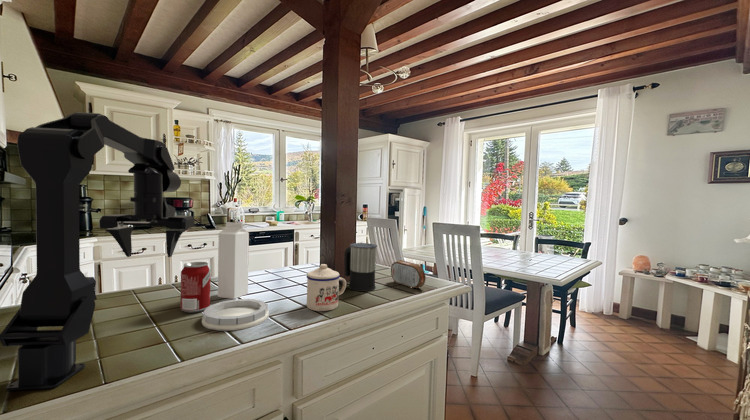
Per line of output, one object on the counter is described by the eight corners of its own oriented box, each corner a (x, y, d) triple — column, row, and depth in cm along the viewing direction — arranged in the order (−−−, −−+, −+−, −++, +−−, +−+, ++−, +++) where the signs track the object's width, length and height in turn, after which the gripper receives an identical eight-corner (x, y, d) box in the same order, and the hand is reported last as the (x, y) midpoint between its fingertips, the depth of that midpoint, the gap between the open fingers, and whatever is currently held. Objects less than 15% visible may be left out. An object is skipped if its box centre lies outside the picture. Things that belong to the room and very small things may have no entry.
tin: (425, 290, 107) (426, 265, 107) (419, 291, 105) (420, 266, 105) (395, 280, 118) (395, 258, 118) (388, 281, 116) (389, 259, 116)
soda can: (197, 315, 78) (197, 267, 78) (173, 312, 80) (174, 265, 79) (215, 306, 85) (216, 262, 84) (194, 304, 86) (194, 260, 86)
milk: (232, 291, 99) (233, 221, 98) (248, 293, 97) (249, 222, 96) (217, 297, 93) (218, 222, 92) (234, 299, 91) (235, 223, 91)
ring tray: (262, 329, 71) (262, 318, 71) (190, 331, 69) (190, 320, 69) (273, 306, 86) (273, 297, 86) (214, 308, 83) (214, 299, 83)
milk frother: (380, 287, 109) (382, 244, 108) (355, 298, 95) (356, 249, 95) (347, 280, 116) (348, 240, 116) (319, 290, 102) (320, 245, 102)
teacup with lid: (315, 314, 81) (316, 269, 81) (300, 304, 88) (301, 263, 88) (353, 305, 89) (355, 264, 88) (337, 297, 96) (338, 259, 95)
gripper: (203, 193, 85) (203, 250, 86) (127, 191, 83) (128, 249, 84) (184, 194, 74) (184, 259, 75) (96, 192, 72) (98, 259, 73)
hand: (149, 256), depth 77 cm, fingers open, 9 cm apart
